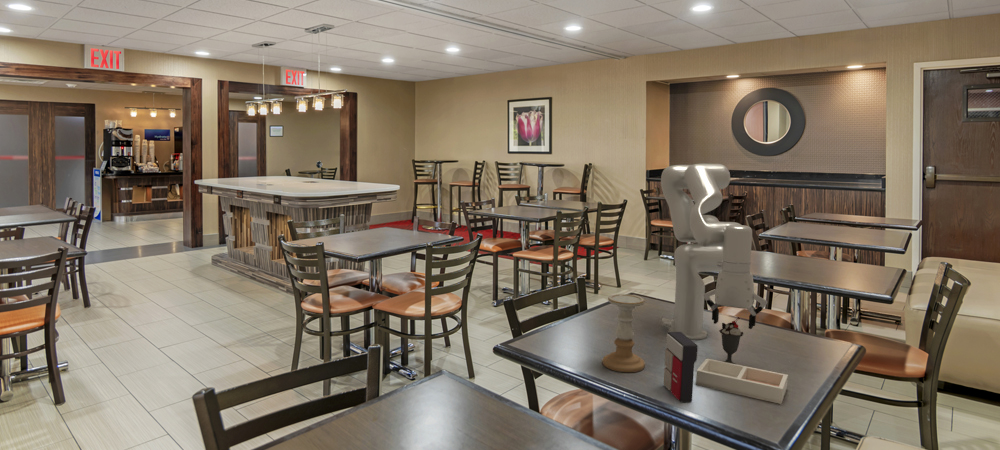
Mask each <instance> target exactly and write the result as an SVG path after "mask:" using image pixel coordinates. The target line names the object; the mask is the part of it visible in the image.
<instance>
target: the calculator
mask: <svg viewBox="0 0 1000 450" xmlns="http://www.w3.org/2000/svg"><path fill="white" fill-rule="evenodd" d="M665 343H666V345H665V347H666V348H665V349H664V350H665V351H664V366H665V367H664V373H663V385H664V386H665V387H666V388H667V389H668V390H669V391H670V393H671V394H672V395H673V396H674V397H675V399H677V400H678V401H679V402H680V403H692V401H693V391H694V390H693V389H694V375H695V373H694V372H695V363H696V362H697V359H698V348H699V347H698V344H697V343H695V342H694V341H693V340H691V339H689V338H688V337H687V336H685V335H684V334H683V333H682V332H669V331H668V332H667V334H666V342H665Z"/></svg>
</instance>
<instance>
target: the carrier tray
mask: <svg viewBox="0 0 1000 450" xmlns="http://www.w3.org/2000/svg"><path fill="white" fill-rule="evenodd" d="M695 378H696V379H695V385H696V386H701V387H705V388H709V389H713V390H718V391H722V392H726V393H732V394H735V395H740V396H744V397H749V398H752V399H757V400H760V401H766V402H769V403H770V402H771V403H773V404H779V405H782V403H783V401H784V398H785V396H786V394H787V390H788V380H789V374H785V373H782V372H781V373H779V372H776V371H775V372H774V371H770V370H766V369H761V368H755V367H751V366H747V365H746V366H745V365H741V364H737V363H736V364H732V363H727V362H723V361H721V360H716V359H712V358H706V359H705V360H703V362H702V363H701V364H700V366H699V367H698V368H697V370H696V376H695Z"/></svg>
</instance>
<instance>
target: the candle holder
mask: <svg viewBox="0 0 1000 450" xmlns="http://www.w3.org/2000/svg"><path fill="white" fill-rule="evenodd" d="M607 301H608V303H610V304H612V305H615V306H616V307H617V309H619V313H618V314H617V315H616V319H617V320H618V322H617V323H618V324H617V327H616V330H615V337H616V339H615V340H614V341H613V344H615V346H616V348H615V351H613V352H610V353H608V354H607V355H605V356H603V358H602V359H601V361H602V365H603V366H604V367H605V368H607V369H609V370H611V371H615V372H620V373H636V372H641V371H642V370H644V368H645V367H646V363H645V361H644V359H642V358H641V357H640V356H638V355H637V354H635V353H634V352H633V348H634V346H635V341H634V340H633V339H634V337H635V331H634V327H633V321H634V320H635V316H634V315H633V314H632V313H633V310H634V309H635V307H640V306H642V305H644V304H645V301H646V300H645V298H644V297H641V296H639V295H635V294H627V293H626V294H625V293H621V294H620V293H618V294H616V293H615V294H612V295H609V296H608V297H607Z"/></svg>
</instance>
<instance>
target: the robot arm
mask: <svg viewBox="0 0 1000 450" xmlns="http://www.w3.org/2000/svg"><path fill="white" fill-rule="evenodd" d="M660 176H661V178H660V186H661V187H660V188H661V190H662V194H663V197H664V199H665V201H666V203H667V205H668V208H669V214H670V218H671V224H672V229H673V233H674V237H675V238H676V240H677V241H679V242H681V243H683V244H681V245H679V246H678V247H676V249H675V250H674V256H673V257H674V267H675V293H674V314H673V318H671V319H670V318H666V317H662V319H661V324H663V325H664V326H669V328H668V332H682V333H683V334H684V335H685V336H687V337H688V338H689V339H690V340H692V341H693V340H702V339H706V338H707V336H708V332H707V331H706V330H705V329H704V328H703V326H704V325H703V324H704V312H705V311H704V308H705V301H706V305H708V306H709V307H710V309H711V311H712V312H711V314H712V315H711V320H712V321H713V324H715V325H716V324H718V323H719V316H720V309H719V306H722V307H727V308H735V309H742V310H748V312H749V313H750V314H749V316H748V329H749V330H752V329H753V328H754V327H755V326H756V320H757V319H756V318H757V314H759V313H760V312H761V311H763V309H764V308H765V306H767V304H768V300H766V299H764V298H763V297H761V296H759V295H758V294H757V293H755V287H754V286H755V285H754V284H755V283H754V274H753V273H752V272H751V260H752V259H751V258H752V244H753V242H752V241H753V229H752V228H751V227H750V226H749V225H742V224H741V223H739V222H734V221H719V219H718V218H717V216H715V215H711V214H707V213H709V212H711V211H714V210H716V208H718V207H719V206H720V205H721V204H722V202H723V194H722V191H721V190H725V189H727V187H728V186H729V184H730V182H731V174H730V170H729V169H728V167H727V166H726V165H724V164H722V163H695V164H675V165H674V164H673V165H669V166H667V167H665V168H664V169H663V170H662V172H661V175H660ZM684 190H688V191H689V192H690V193H689V194H690V195H691V197H690V196H689V194H687V193H686V191H684ZM684 243H685V244H684ZM705 272H706V273H708V272H710V273H711V272H712V273H713V272H718V274H717V279H716V284H715V285H716V286H715V289H713V290H710V291H707V292H706V285H705V281H704V279H702V277H701V276H700V274H699V273H705ZM711 296H714V301H713V300H712V299H711ZM755 301H757V302H758V303H759V306H757V307H756V308H755V306H754V302H755Z"/></svg>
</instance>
